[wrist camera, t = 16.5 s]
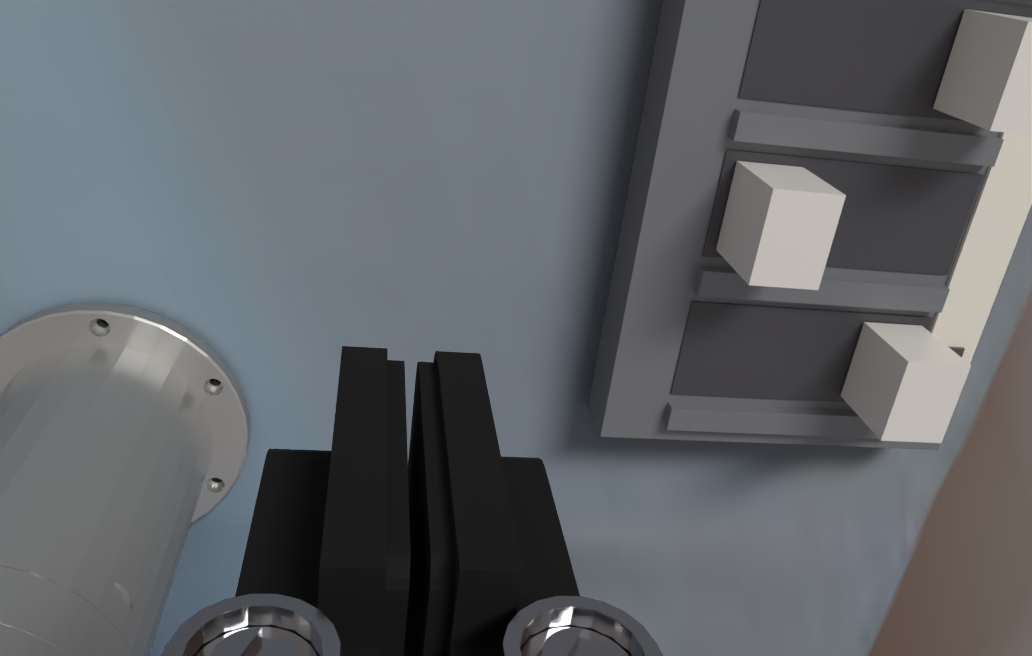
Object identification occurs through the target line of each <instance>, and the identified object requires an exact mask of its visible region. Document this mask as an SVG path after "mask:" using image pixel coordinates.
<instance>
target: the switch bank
mask: <svg viewBox="0 0 1032 656" xmlns="http://www.w3.org/2000/svg"><path fill="white" fill-rule="evenodd" d="M965 9H969V10H976V11H984V12H991V13H999V14H1007V15H1014V16H1022V17H1029V18H1032V0H663V2H662V8H661V13H660V19H659V24H658V29H657V35H656V40H655V46H654V51H653V56H652V62H651V67H650V73H649V78H648V83H647V89H646V94H645V100H644V105H643V111H642V116H641V121H640V127H639V132H638V138H637V143H636V148H635V154H634V159H633V165H632V170H631V176H630V181H629V186H628V192H627V197H626V203H625V208H624V213H623V219H622V224H621V230H620V235H619V240H618V246H617V251H616V257H615V262H614V268H613V273H612V278H611V284H610V289H609V295H608V300H607V305H606V311H605V316H604V322H603V327H602V332H601V338H600V343H599V349H598V354H597V360H596V365H595V370H594V376H593V381H592V387H591V392H590V397H589V403H588V406H589V409H590V411H591V414H592V416H593V419H594V421H595V424H596V427H597V429H598V432H599V434H600V437H618V438H644V439H670V440H696V441H722V442H748V443H774V444H799V445H825V446H851V447H877V448H903V449H929V450H938V447H939V445H940V443H926V442H901V441H881V440H880V439H879V438H878V437H877V436H876V435H875V434H874V433H873V431H872V430H871V429H870V428H869V427H868V426H867V425H866V424H865V423H864V421H863V420H862V419H861V418H860V417H859V416H858V415H857V414H856V413H855V411H854V410H853V409H852V408H851V407H850V406H849V405H848V404H847V403H846V401H845V400H844V399H843V398H842V397H841V393H842V389H843V386H844V383H845V380H846V377H847V374H848V371H849V368H850V365H851V361H852V358H853V355H854V352H855V349H856V346H857V343H858V340H859V337H860V333H861V330H862V327H863V324H864V322H872V323H887V324H903V325H918V326H923V327H924V328H926V329H927V330H928V331H929V332H930V333H932V334H933V335H934V336H935V337H937V338H938V339H939V340H940V341H942V342H943V343H944V344H945V345H947V346H948V347H949V348H950V349H952V350H953V351H954V352H955V353H956V354H958V355H959V356H960V357H961V358H963V359H964V360H965V361H966V362H968V363H969V364H970V365H971V362H972V359H973V357H974V354H975V352H976V349H977V346H978V344H979V341H980V339H981V336H982V333H983V331H984V328H985V326H986V323H987V320H988V318H989V315H990V313H991V310H992V308H993V305H994V302H995V300H996V297H997V295H998V292H999V289H1000V287H1001V284H1002V282H1003V279H1004V276H1005V274H1006V271H1007V269H1008V266H1009V263H1010V261H1011V258H1012V256H1013V253H1014V251H1015V248H1016V245H1017V243H1018V240H1019V238H1020V235H1021V232H1022V230H1023V227H1024V225H1025V222H1026V219H1027V217H1028V214H1029V212H1030V209H1031V206H1032V135H1024V134H1015V133H1005V132H996V131H989V130H987V129H984V128H981V127H979V126H976V125H974V124H971V123H969V122H966V121H964V120H961V119H958V118H956V117H953V116H951V115H948V114H946V113H943V112H941V111H938V110H936V109H933V106H934V103H935V100H936V97H937V94H938V91H939V88H940V85H941V81H942V78H943V75H944V72H945V69H946V66H947V63H948V60H949V57H950V53H951V50H952V47H953V44H954V41H955V38H956V35H957V32H958V29H959V26H960V22H961V19H962V16H963V13H964V10H965ZM737 161H744V162H755V163H765V164H776V165H786V166H797V167H804V168H805V169H807V170H808V171H810V172H811V173H813V174H814V175H816V176H817V177H819V178H820V179H822V180H824V181H825V182H827V183H828V184H830V185H831V186H833V187H834V188H836V189H837V190H839V191H840V192H842V193H843V194H845V195H846V197H845V201H844V204H843V208H842V211H841V215H840V218H839V221H838V225H837V228H836V232H835V235H834V238H833V242H832V245H831V249H830V252H829V256H828V259H827V262H826V266H825V269H824V273H823V276H822V279H821V283H820V286H819V290H809V289H794V288H780V287H766V286H752V285H748V284H747V283H746V282H745V281H744V279H743V278H742V277H741V276H740V275H739V274H738V273H737V272H736V271H735V270H734V269H733V268H732V266H731V265H730V264H729V263H728V262H727V261H726V260H725V259H724V258H723V257H722V256H721V255H720V253H719V252H718V251H717V250H716V248H717V243H718V239H719V235H720V231H721V226H722V222H723V218H724V214H725V209H726V205H727V201H728V197H729V192H730V188H731V184H732V180H733V175H734V171H735V167H736V162H737Z"/></svg>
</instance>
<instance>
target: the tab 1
mask: <svg viewBox="0 0 1032 656" xmlns="http://www.w3.org/2000/svg"><path fill="white" fill-rule="evenodd" d="M970 368H971V365H970V364H969V363H968V362H966V361H965V360H964V359H963V358H961V357H960V356H959V355H958V354H956V353H955V352H954V351H953V350H952V349H950V348H949V347H948V346H947V345H945V344H944V343H943V342H942V341H940V340H939V339H938V338H937V337H935V336H934V335H933V334H932V333H930V332H929V331H928V330H927V329H926V328H924V327H923V326H918V325H903V324H887V323H872V322H864V324H863V327H862V330H861V333H860V337H859V340H858V343H857V346H856V349H855V352H854V355H853V358H852V361H851V365H850V368H849V371H848V374H847V377H846V380H845V383H844V386H843V389H842V393H841V397H842V398H843V399H844V400H845V401H846V403H847V404H848V405H849V406H850V407H851V408H852V409H853V410H854V411H855V413H856V414H857V415H858V416H859V417H860V418H861V419H862V420H863V421H864V423H865V424H866V425H867V426H868V427H869V428H870V429H871V430H872V431H873V433H874V434H875V435H876V436H877V437H878V438H879V439H880V440H881V441H901V442H926V443H942V440H943V437H944V435H945V432H946V430H947V427H948V424H949V422H950V419H951V417H952V414H953V412H954V409H955V406H956V404H957V401H958V399H959V396H960V393H961V391H962V388H963V386H964V383H965V381H966V378H967V375H968V373H969V370H970Z"/></svg>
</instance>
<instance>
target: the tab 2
mask: <svg viewBox="0 0 1032 656" xmlns="http://www.w3.org/2000/svg"><path fill="white" fill-rule="evenodd" d="M933 109H936V110H938V111H941V112H943V113H946V114H948V115H951V116H953V117H956V118H958V119H961V120H964V121H966V122H969V123H971V124H974V125H976V126H979V127H981V128H984V129H987V130H989V131H996V132H1005V133H1015V134H1024V135H1032V18H1029V17H1022V16H1014V15H1007V14H999V13H991V12H984V11H976V10H969V9H965V10H964V13H963V16H962V19H961V22H960V26H959V29H958V32H957V35H956V38H955V41H954V44H953V47H952V50H951V53H950V57H949V60H948V63H947V66H946V69H945V72H944V75H943V78H942V81H941V85H940V88H939V91H938V94H937V97H936V100H935V103H934V106H933Z"/></svg>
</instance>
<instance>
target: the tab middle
mask: <svg viewBox="0 0 1032 656" xmlns="http://www.w3.org/2000/svg"><path fill="white" fill-rule="evenodd" d="M845 197H846V195H845V194H843V193H842V192H840V191H839V190H837V189H836V188H834V187H833V186H831V185H830V184H828V183H827V182H825V181H824V180H822V179H820V178H819V177H817V176H816V175H814V174H813V173H811V172H810V171H808V170H807V169H805V168H804V167H797V166H786V165H776V164H765V163H755V162H744V161H737V162H736V167H735V171H734V175H733V180H732V184H731V188H730V192H729V197H728V201H727V205H726V209H725V214H724V218H723V222H722V226H721V231H720V235H719V239H718V243H717V248H716V250H717V251H718V252H719V253H720V255H721V256H722V257H723V258H724V259H725V260H726V261H727V262H728V263H729V264H730V265H731V266H732V268H733V269H734V270H735V271H736V272H737V273H738V274H739V275H740V276H741V277H742V278H743V279H744V281H745V282H746V283H747V284H748V285H752V286H766V287H780V288H794V289H809V290H819V286H820V283H821V279H822V276H823V273H824V269H825V266H826V262H827V259H828V256H829V252H830V249H831V245H832V242H833V238H834V235H835V232H836V228H837V225H838V221H839V218H840V215H841V211H842V208H843V204H844V201H845Z"/></svg>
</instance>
